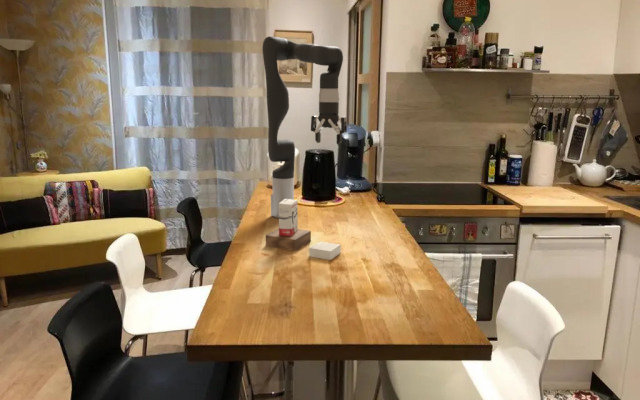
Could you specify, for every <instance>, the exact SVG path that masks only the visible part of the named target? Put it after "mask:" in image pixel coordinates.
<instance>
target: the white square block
mask: <svg viewBox="0 0 640 400" xmlns="http://www.w3.org/2000/svg"><path fill="white" fill-rule="evenodd" d="M341 248H342V247H341V244H338V243H331V242H325V241H318V242H317V243H314V244H313V245H311V246H310V247H308V249H309V251H308V253H309V255H308V256H309V257H310V258H317V259H322V260H327V261H332V260H333V259H334V258H336V257H337V256H338V255H340V254H341Z"/></svg>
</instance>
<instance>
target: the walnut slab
mask: <svg viewBox="0 0 640 400" xmlns="http://www.w3.org/2000/svg"><path fill="white" fill-rule="evenodd" d="M311 239H312V231H311V230H306V229H300V228H298V230H297V231H296V232H295V233H294V234H293V235H292V236H279V228H278V229H275V230H274V231H270V232H269V233H267V234H265V246H266V247H271V248H277V249H282V250H289V251H297V250H299V249H300V248H302V247H304V246H305V245H307V244H309V243H310V242H311Z"/></svg>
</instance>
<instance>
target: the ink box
mask: <svg viewBox="0 0 640 400" xmlns="http://www.w3.org/2000/svg"><path fill="white" fill-rule="evenodd" d="M298 214H299V213H298V199H294V200H293V199H284V200H283V201H281V202H280V203H279V218H278V229H279V236H292V235H293V234H294V233H295V232H296V231H297V230H298V229H299V227H298V220H299V219H298Z"/></svg>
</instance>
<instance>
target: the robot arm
mask: <svg viewBox="0 0 640 400" xmlns="http://www.w3.org/2000/svg"><path fill="white" fill-rule="evenodd" d="M262 58H263V66H264V72H265V84H266V87H265V88H266V107H267V120H268V121H267V125H268V126H267V127H268V134H267V135H268V137H267V139H268V141H267V142H268V145H267V148H268V149H267V150H268V152H267V154H268V158H269V160H270V162H272V163H278V162H279V163H281V162H284V163H283V164H282V165H281V166H279V167H277V168H276V169H273V170H272V172H271V173H272V174H271V175H272V176H271V177H272V178H271V179H272V181H271V182H272V194H270V216H271V217H273V218H277V219H279V203H280V202H281V201H283V200H284V199H293V200H295V159H296V158H295V157H296V148H295V147H296V146H295V142H294V141H293V140H292V139H278V135H279V134H278V133H279V130H280V127H281V125H282V123H283V121H284V119H285V118H286V116H287V115H288V112H289V109H290V97H289V96H290V95H289V90H288V88H287V85H286V84H285V81H284V80H283V79H282V76H281V75H280V72H279V68H278V67H279V66H278V62H279V61H282V62H283V61H289V60H290V61H291V60H297V61H300V62H304V63H308V64H314V65H319V66H325V67H327V66H328V67H327V69H326V71H325V72H322V73H321V74H320V75H319V93H318V115H316V114H315V115H311V118H310V119H311V120H310V131H311V132H313V133H315V134H314V135H315V136H314V137H315V142H316V144H319V143H321V140H322V139H321V138H322V137H321V136H322V135H321V132H322V130H323V129H324V128H326V129H327V128H329V129H333V130H334V131H335V133H336V144H337V145H340V144H341V143H342V142H343V141H342V140H343V139H342V137H343V134H345V133H347V132H348V130H347V129H348V127H347V126H348V124H347V117H346V116H341V117H340V116H339V114H340V113H339V110H340V108H339V106H340V105H339V102H340V96H339V95H340V93H339V77H340V73H341V71H342V66H343V62H344V55H343V51H342V50H341V48H340V47H338V46H332V45H331V46H330V45H318V44H315V43H297V42H293V41H291V40H288V39H286V38H285V37H277V36H266V37H265V39H264V40H263V42H262ZM318 121H319V124H317V122H318ZM338 123H340V125H339V124H338Z"/></svg>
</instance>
